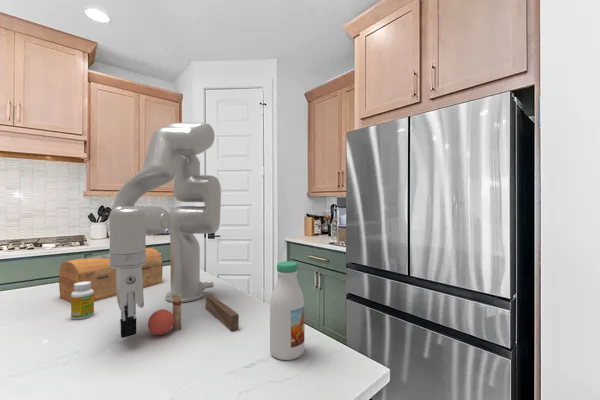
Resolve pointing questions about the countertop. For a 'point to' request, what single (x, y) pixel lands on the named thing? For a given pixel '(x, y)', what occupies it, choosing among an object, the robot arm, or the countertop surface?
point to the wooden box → (104, 274)
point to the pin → (177, 311)
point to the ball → (160, 322)
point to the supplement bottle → (82, 301)
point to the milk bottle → (287, 314)
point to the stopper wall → (222, 312)
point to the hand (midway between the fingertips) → (128, 334)
